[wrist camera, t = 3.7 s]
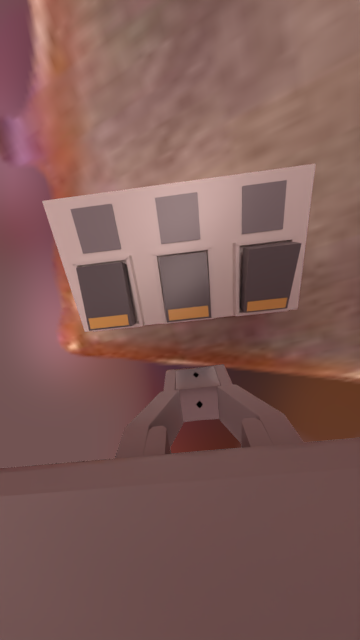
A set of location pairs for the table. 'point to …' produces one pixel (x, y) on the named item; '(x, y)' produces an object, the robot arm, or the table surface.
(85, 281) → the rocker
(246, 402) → the robot arm
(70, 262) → the rocker switch panel
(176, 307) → the panel
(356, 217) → the table surface
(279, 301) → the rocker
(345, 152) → the table surface
